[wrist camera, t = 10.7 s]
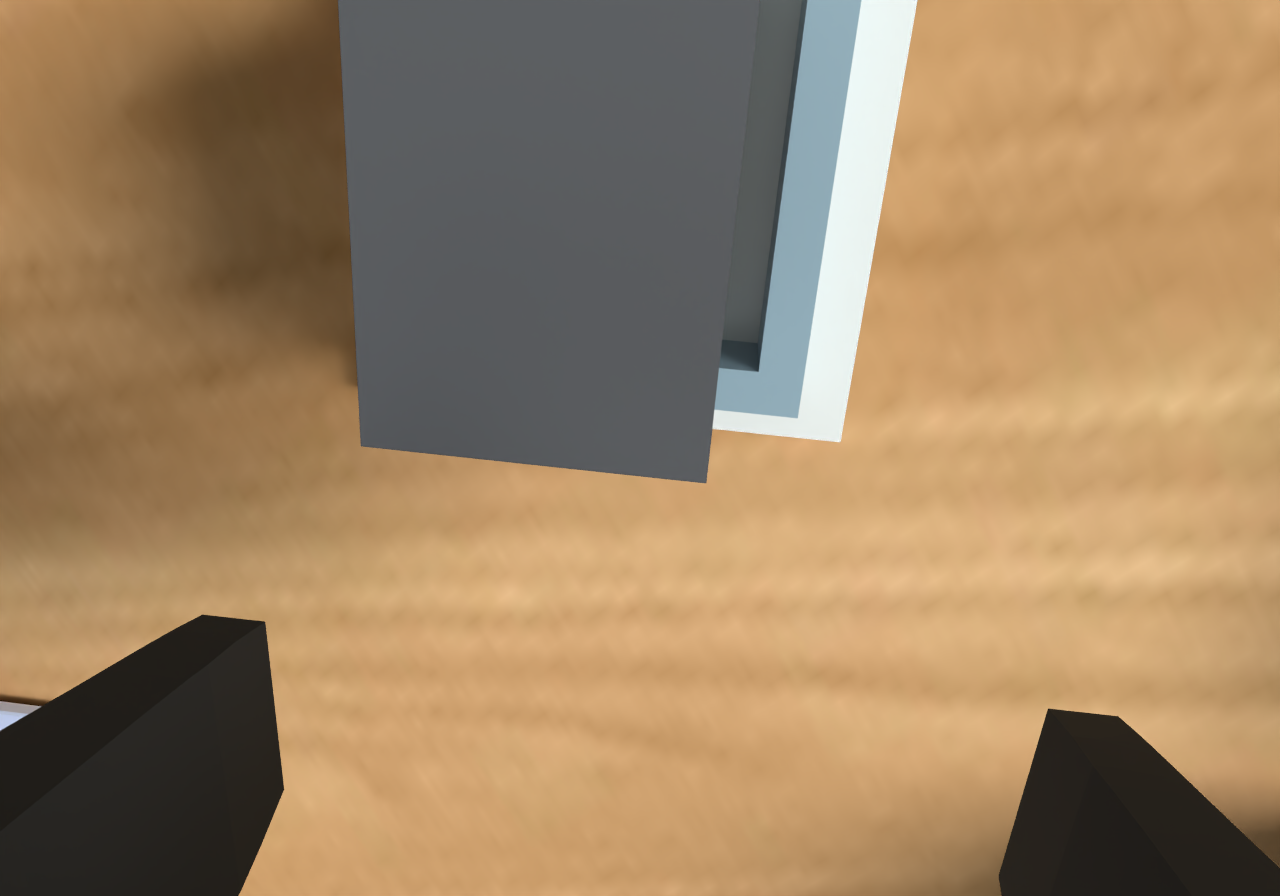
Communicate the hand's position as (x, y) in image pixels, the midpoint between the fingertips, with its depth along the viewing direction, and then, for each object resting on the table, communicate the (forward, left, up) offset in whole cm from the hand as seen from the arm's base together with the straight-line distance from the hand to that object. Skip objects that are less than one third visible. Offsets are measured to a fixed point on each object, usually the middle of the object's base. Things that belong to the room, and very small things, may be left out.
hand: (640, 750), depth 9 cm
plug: (-2, +4, -10) cm, 11 cm away
